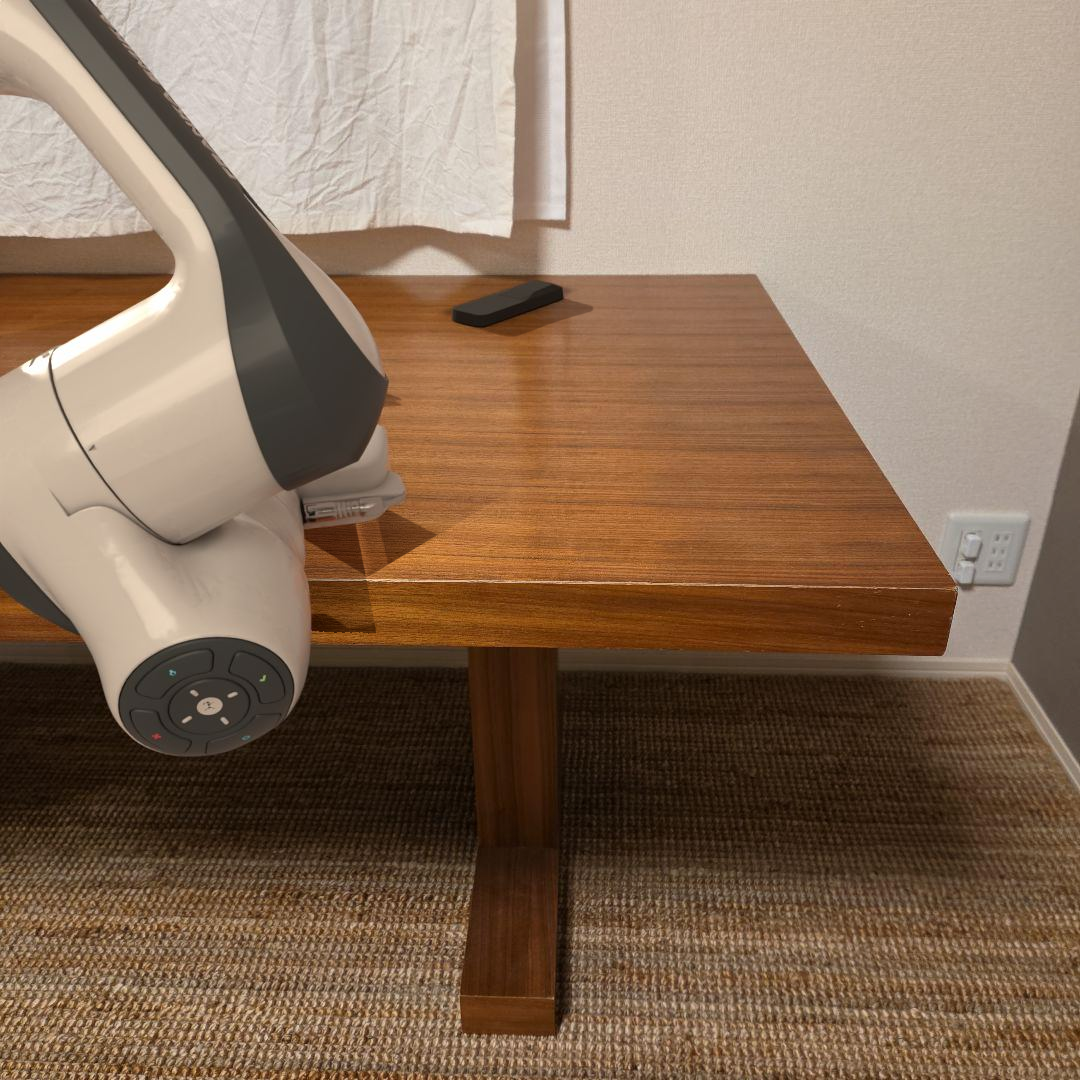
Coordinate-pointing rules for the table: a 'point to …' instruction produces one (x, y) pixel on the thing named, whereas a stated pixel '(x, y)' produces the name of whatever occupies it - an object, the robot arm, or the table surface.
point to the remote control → (507, 303)
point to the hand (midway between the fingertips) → (225, 431)
